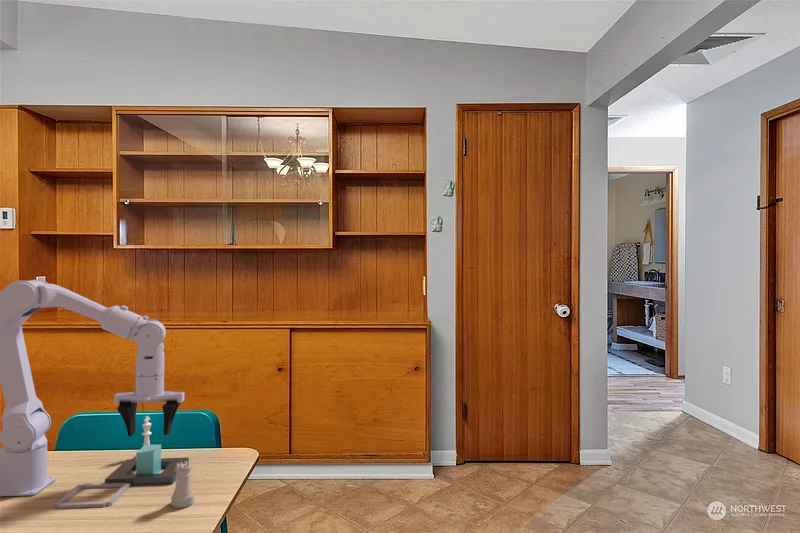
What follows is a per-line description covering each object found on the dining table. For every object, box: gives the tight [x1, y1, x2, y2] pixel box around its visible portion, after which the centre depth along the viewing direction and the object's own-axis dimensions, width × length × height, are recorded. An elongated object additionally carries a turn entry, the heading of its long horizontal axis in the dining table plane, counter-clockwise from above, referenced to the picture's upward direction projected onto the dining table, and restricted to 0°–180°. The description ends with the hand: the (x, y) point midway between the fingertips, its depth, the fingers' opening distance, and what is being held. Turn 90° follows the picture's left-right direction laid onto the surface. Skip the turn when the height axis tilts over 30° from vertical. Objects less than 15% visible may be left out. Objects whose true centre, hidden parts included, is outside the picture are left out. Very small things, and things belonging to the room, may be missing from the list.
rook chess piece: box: [170, 461, 195, 509], centre depth 99 cm, size 4×4×8 cm
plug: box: [135, 444, 162, 474], centre depth 112 cm, size 4×5×6 cm
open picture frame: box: [53, 482, 132, 509], centre depth 101 cm, size 11×10×1 cm
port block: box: [104, 457, 190, 486], centre depth 112 cm, size 14×11×2 cm
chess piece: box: [141, 415, 152, 447], centre depth 123 cm, size 5×5×10 cm
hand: (149, 434), depth 112 cm, fingers open, 7 cm apart
